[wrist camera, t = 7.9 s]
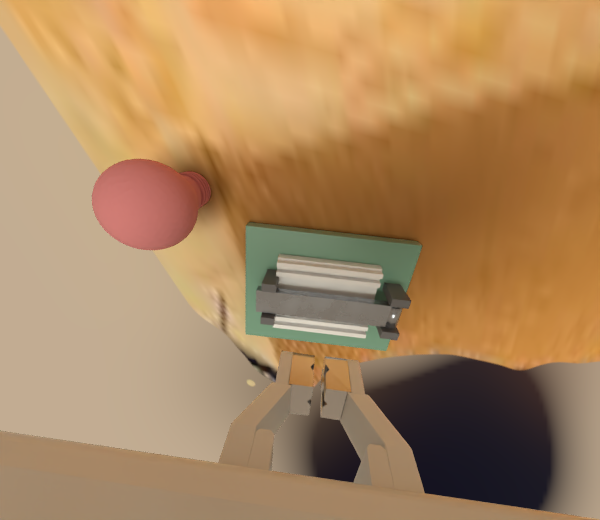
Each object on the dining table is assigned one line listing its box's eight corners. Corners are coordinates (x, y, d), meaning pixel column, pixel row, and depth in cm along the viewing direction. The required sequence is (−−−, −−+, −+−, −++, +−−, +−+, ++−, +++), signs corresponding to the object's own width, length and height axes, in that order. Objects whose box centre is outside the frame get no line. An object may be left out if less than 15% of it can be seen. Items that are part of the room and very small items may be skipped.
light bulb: (186, 228, 29) (108, 275, 18) (153, 169, 26) (39, 182, 15) (238, 210, 28) (188, 249, 17) (210, 146, 25) (127, 143, 14)
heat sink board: (417, 241, 28) (437, 258, 23) (383, 343, 35) (393, 371, 30) (249, 221, 28) (236, 235, 24) (248, 326, 35) (238, 353, 30)
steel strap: (400, 301, 28) (405, 309, 26) (393, 321, 29) (397, 330, 27) (258, 284, 28) (255, 291, 26) (258, 305, 29) (255, 313, 28)
